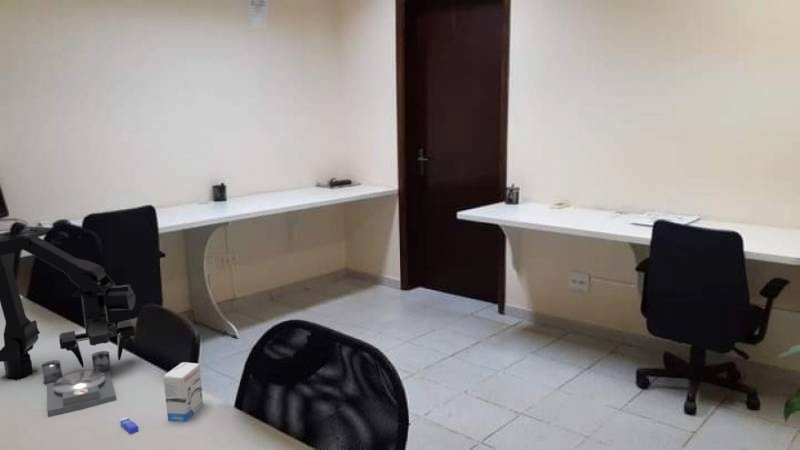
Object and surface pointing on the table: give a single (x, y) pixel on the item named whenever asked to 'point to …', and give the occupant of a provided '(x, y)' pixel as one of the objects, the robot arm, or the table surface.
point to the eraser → (128, 425)
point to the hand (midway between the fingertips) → (101, 363)
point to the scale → (80, 397)
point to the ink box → (183, 391)
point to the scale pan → (78, 381)
